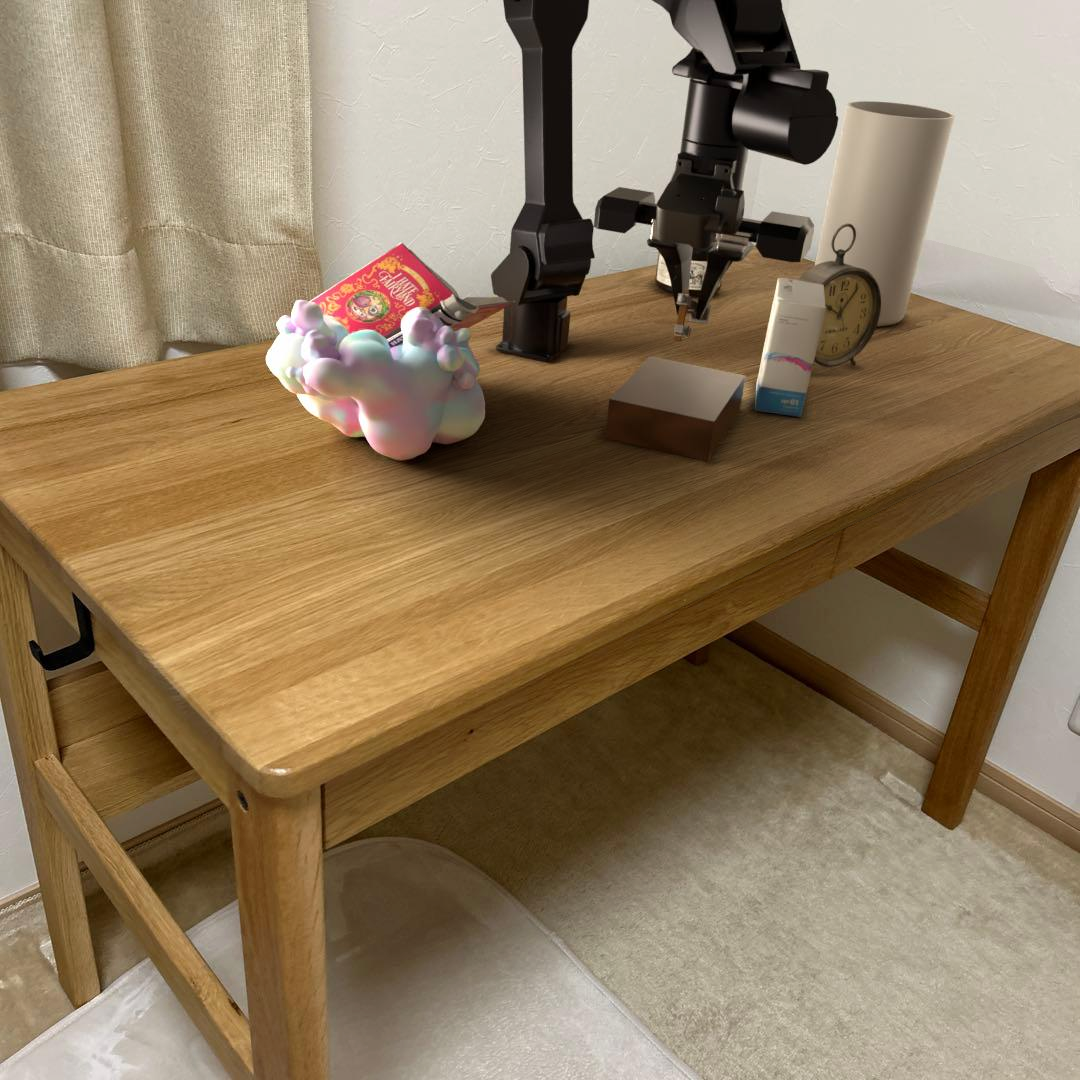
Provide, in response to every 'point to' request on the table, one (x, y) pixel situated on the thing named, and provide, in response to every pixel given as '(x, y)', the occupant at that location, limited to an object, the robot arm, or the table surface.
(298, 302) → the pastel bubbly cloud sculpture
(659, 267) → the ink bottle
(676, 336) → the grey orange jointed piece
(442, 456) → the table surface
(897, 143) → the cylinder vase
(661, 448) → the walnut block
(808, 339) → the ink box
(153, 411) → the table surface
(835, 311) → the alarm clock
